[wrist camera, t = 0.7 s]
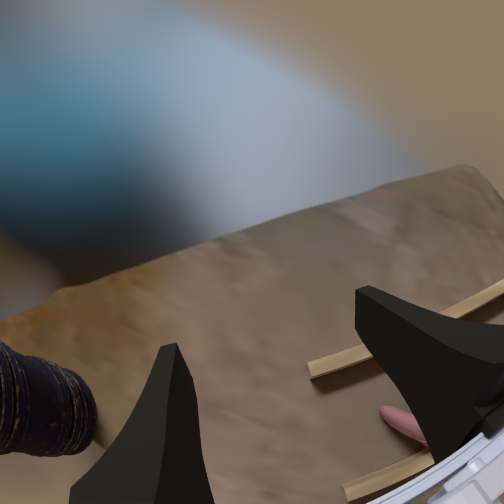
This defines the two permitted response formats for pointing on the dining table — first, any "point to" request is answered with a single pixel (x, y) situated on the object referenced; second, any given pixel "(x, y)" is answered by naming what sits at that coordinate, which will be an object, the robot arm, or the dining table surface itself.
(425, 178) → the dining table surface
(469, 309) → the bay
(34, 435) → the storage jar
